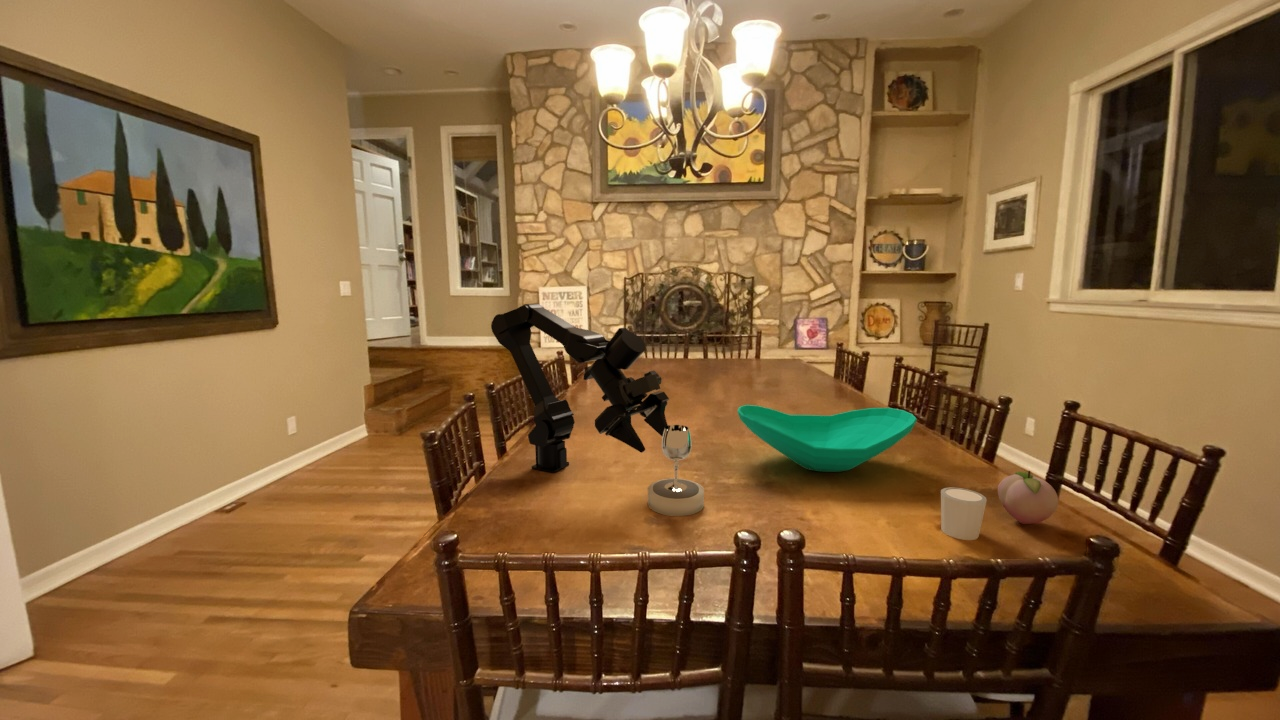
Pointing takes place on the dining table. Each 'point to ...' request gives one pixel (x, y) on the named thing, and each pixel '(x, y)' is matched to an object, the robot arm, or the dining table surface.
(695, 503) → the disc
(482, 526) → the dining table surface
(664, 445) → the wineglass
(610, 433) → the robot arm
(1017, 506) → the decorative fruit
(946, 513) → the white cup
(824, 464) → the table top decor
